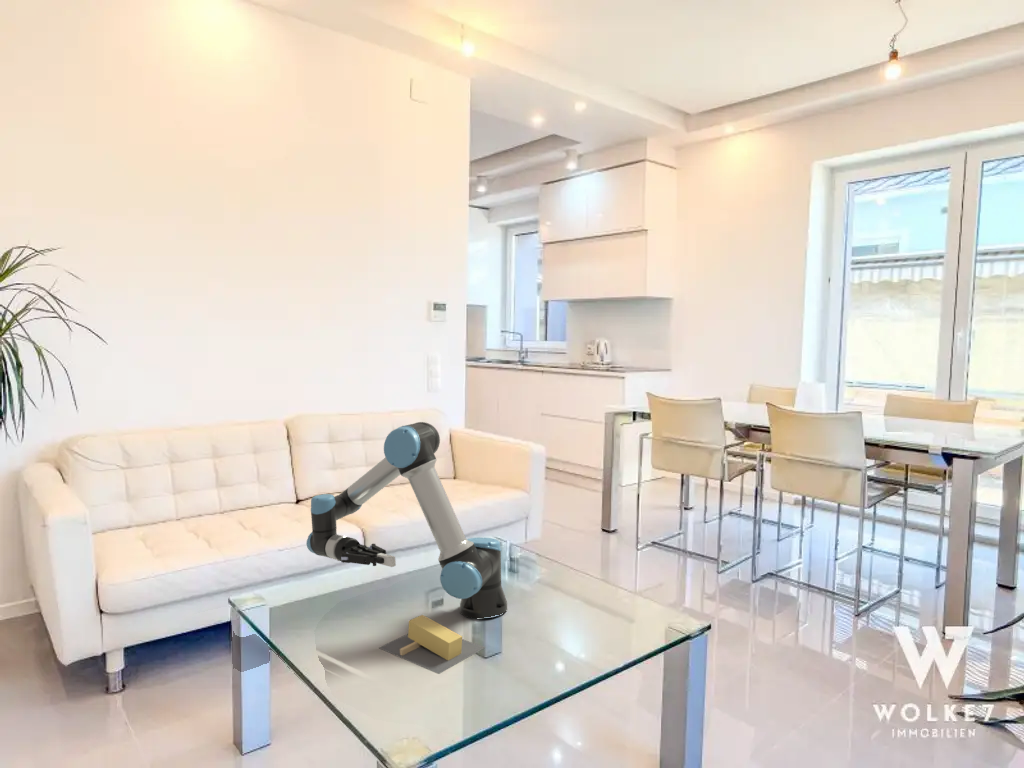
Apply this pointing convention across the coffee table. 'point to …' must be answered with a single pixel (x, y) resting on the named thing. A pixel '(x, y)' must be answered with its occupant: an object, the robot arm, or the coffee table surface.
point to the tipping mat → (428, 653)
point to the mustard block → (435, 637)
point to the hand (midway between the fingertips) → (393, 561)
